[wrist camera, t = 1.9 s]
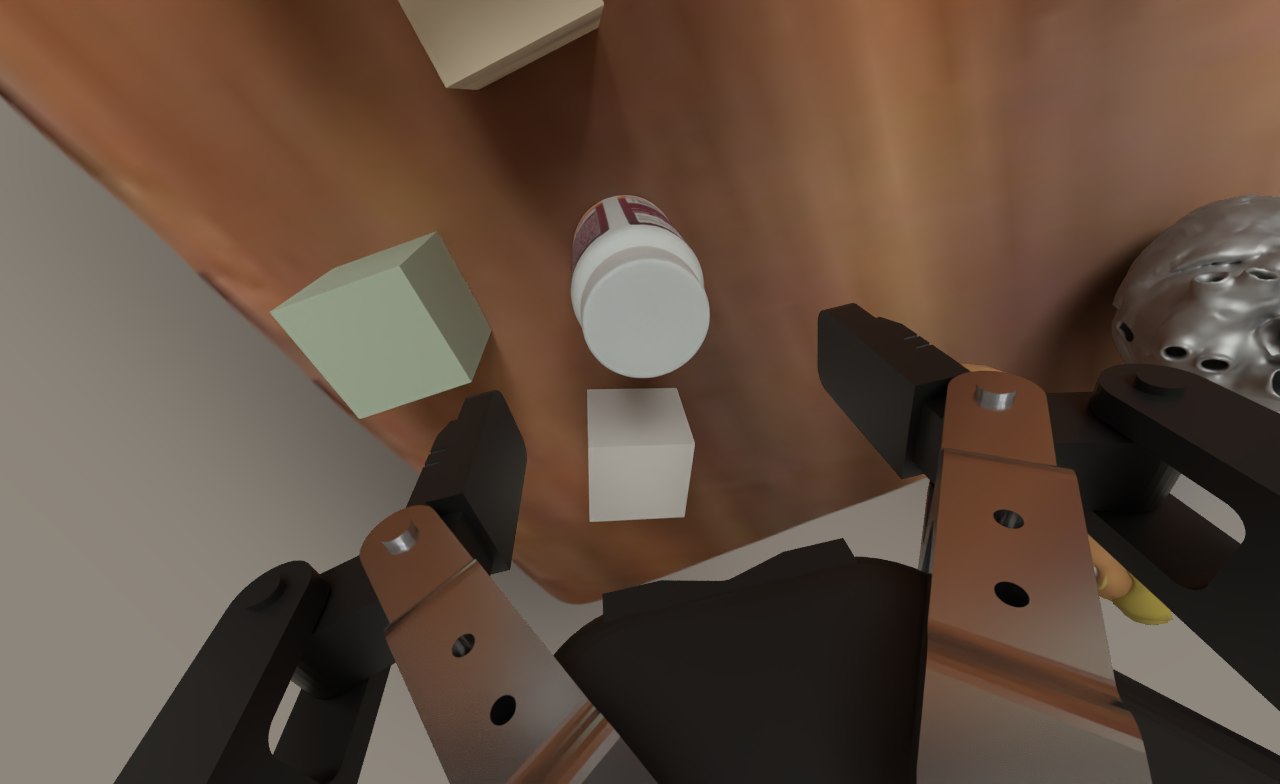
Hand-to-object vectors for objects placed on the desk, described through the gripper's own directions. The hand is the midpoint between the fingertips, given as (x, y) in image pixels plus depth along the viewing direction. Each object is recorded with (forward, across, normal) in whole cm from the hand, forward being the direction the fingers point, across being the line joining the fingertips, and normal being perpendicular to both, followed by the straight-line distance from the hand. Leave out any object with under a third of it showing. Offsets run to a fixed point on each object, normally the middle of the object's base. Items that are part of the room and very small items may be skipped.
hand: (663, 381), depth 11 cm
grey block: (+12, +2, +10) cm, 15 cm away
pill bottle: (+12, 0, 0) cm, 12 cm away
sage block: (+12, +10, 0) cm, 15 cm away
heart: (+12, -26, +8) cm, 30 cm away
